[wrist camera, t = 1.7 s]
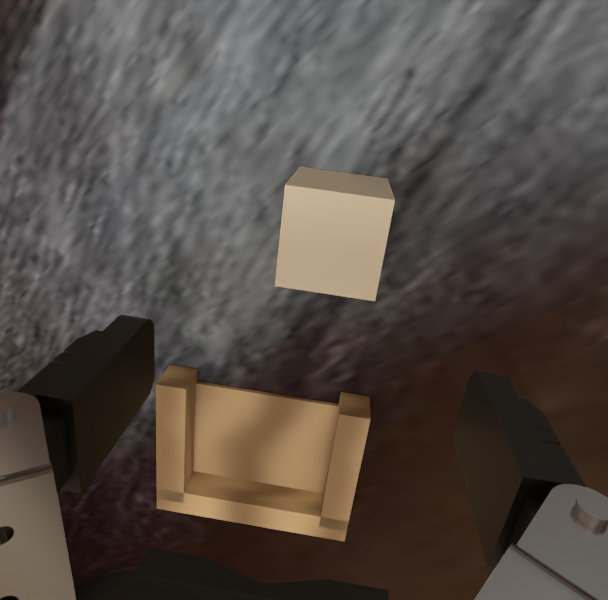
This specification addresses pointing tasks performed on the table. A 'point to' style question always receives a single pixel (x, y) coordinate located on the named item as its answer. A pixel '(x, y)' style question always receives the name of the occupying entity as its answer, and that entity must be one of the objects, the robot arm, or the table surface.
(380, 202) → the block
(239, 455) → the rest cradle
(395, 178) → the table surface
